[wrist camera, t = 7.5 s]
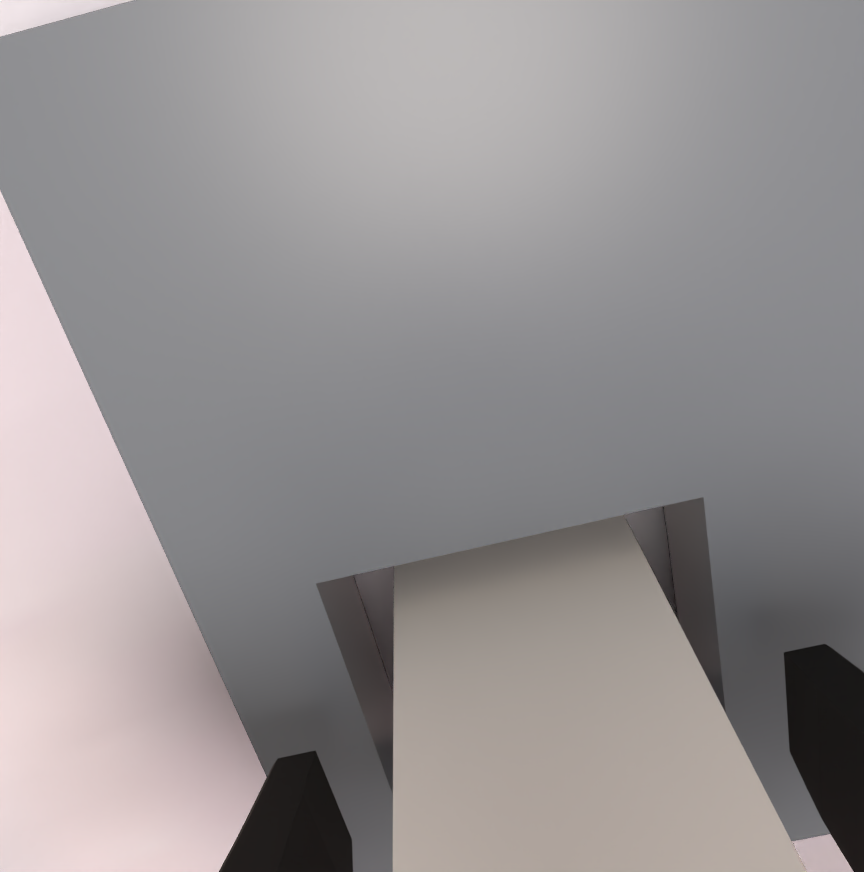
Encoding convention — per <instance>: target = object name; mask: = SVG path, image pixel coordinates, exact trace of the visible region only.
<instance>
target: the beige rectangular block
mask: <svg viewBox="0 0 864 872" xmlns="http://www.w3.org/2000/svg"><path fill="white" fill-rule="evenodd" d="M393 872H807V871H806V869H805V867H804V865H803V863H802V861H801V859H800V857H799V855H798V853H797V851H796V849H795V847H794V845H793V843H792V842H791V840H790V838H789V836H788V834H787V832H786V830H785V828H784V826H783V824H782V822H781V820H780V818H779V816H778V814H777V812H776V810H775V808H774V806H773V805H772V803H771V801H770V799H769V797H768V795H767V793H766V791H765V789H764V787H763V785H762V783H761V781H760V779H759V777H758V775H757V773H756V771H755V770H754V768H753V766H752V764H751V762H750V760H749V758H748V756H747V754H746V752H745V750H744V748H743V746H742V744H741V742H740V740H739V738H738V736H737V735H736V733H735V731H734V729H733V727H732V725H731V723H730V721H729V719H728V717H727V715H726V713H725V711H724V709H723V707H722V705H721V703H720V701H719V700H718V698H717V696H716V694H715V692H714V690H713V688H712V686H711V684H710V682H709V680H708V678H707V676H706V674H705V672H704V670H703V668H702V666H701V665H700V663H699V661H698V659H697V657H696V655H695V653H694V651H693V649H692V647H691V645H690V643H689V641H688V639H687V637H686V635H685V633H684V631H683V630H682V628H681V626H680V624H679V622H678V620H677V618H676V616H675V614H674V612H673V610H672V608H671V606H670V604H669V602H668V600H667V598H666V596H665V594H664V593H663V591H662V589H661V587H660V585H659V583H658V581H657V579H656V577H655V575H654V573H653V571H652V569H651V567H650V565H649V563H648V561H647V559H646V558H645V556H644V554H643V552H642V550H641V548H640V546H639V544H638V542H637V540H636V538H635V536H634V534H633V532H632V530H631V528H630V526H629V524H628V523H627V521H626V519H625V517H624V515H621V516H616V517H612V518H607V519H603V520H598V521H594V522H589V523H585V524H580V525H576V526H571V527H567V528H562V529H558V530H554V531H549V532H545V533H540V534H536V535H531V536H527V537H522V538H518V539H513V540H509V541H504V542H500V543H495V544H491V545H486V546H482V547H477V548H473V549H469V550H464V551H460V552H455V553H451V554H446V555H442V556H437V557H433V558H428V559H424V560H419V561H415V562H410V563H406V564H401V565H397V566H394V693H393Z"/></svg>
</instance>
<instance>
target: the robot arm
mask: <svg viewBox="0 0 864 872" xmlns="http://www.w3.org/2000/svg"><path fill="white" fill-rule="evenodd" d="M784 666H785V683H786V699H787V716H788V733H789V750H790V753H791V756H792V758H793V760H794V762H795V764H796V766H797V768H798V771H799V773H800V775H801V777H802V779H803V781H804V784H805V786H806V788H807V790H808V792H809V794H810V796H811V798H812V800H813V802H814V804H815V806H816V808H817V810H818V812H819V814H820V816H821V818H822V820H823V822H824V824H825V825H826V827H827V829H828V830H829V832H830V834H831V835H832V837H833V839H834V840H835V842H836V843H837V845H838V847H839V848H840V850H841V852H842V853H843V855H844V856H845V858H846V860H847V861H848V863H849V865H850V866H851V868H852V870H853V871H854V872H864V672H863V671H862V670H860V669H859V668H858V667H856V666H855V665H854V664H852V663H851V662H850V661H849V660H847V659H846V658H845V657H843V656H842V655H841V654H839V653H838V652H837V651H835V650H834V649H833V648H831V647H830V646H828V645H826V644H821V645H816V646H811V647H807V648H802V649H797V650H792V651H788V652H784ZM219 872H353V855H352V838H351V836H350V833H349V831H348V829H347V826H346V824H345V821H344V819H343V816H342V814H341V811H340V809H339V807H338V804H337V802H336V799H335V797H334V794H333V792H332V789H331V787H330V785H329V782H328V780H327V777H326V775H325V772H324V770H323V767H322V765H321V763H320V760H319V758H318V755H317V753H316V750H315V751H310V752H306V753H301V754H296V755H291V756H287V757H282V758H278V759H277V760H276V762H275V763H274V764H273V766H272V768H271V770H270V772H269V774H268V776H267V778H266V780H265V782H264V784H263V787H262V789H261V791H260V793H259V795H258V797H257V799H256V801H255V803H254V805H253V807H252V809H251V811H250V813H249V815H248V817H247V819H246V821H245V823H244V825H243V827H242V829H241V831H240V833H239V835H238V837H237V839H236V841H235V843H234V844H233V846H232V848H231V850H230V852H229V854H228V856H227V858H226V859H225V861H224V863H223V865H222V867H221V869H220V871H219Z"/></svg>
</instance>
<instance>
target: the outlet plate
mask: <svg viewBox="0 0 864 872" xmlns="http://www.w3.org/2000/svg"><path fill="white" fill-rule="evenodd" d="M0 190H1V193H2V195H3V197H4V199H5V201H6V204H7V206H8V208H9V210H10V212H11V215H12V217H13V219H14V221H15V223H16V226H17V228H18V230H19V232H20V234H21V237H22V239H23V241H24V243H25V245H26V248H27V250H28V252H29V254H30V257H31V259H32V261H33V263H34V265H35V268H36V270H37V272H38V274H39V276H40V279H41V281H42V283H43V285H44V287H45V290H46V292H47V294H48V296H49V298H50V301H51V303H52V305H53V307H54V309H55V312H56V314H57V316H58V318H59V320H60V323H61V325H62V327H63V329H64V331H65V334H66V336H67V338H68V340H69V342H70V345H71V347H72V349H73V351H74V353H75V356H76V358H77V360H78V362H79V364H80V367H81V369H82V371H83V373H84V375H85V378H86V380H87V382H88V384H89V386H90V389H91V391H92V393H93V395H94V397H95V400H96V402H97V404H98V406H99V408H100V411H101V413H102V415H103V417H104V419H105V422H106V424H107V426H108V428H109V430H110V433H111V435H112V437H113V439H114V441H115V444H116V446H117V448H118V450H119V452H120V455H121V457H122V459H123V461H124V463H125V466H126V468H127V470H128V472H129V474H130V477H131V479H132V481H133V483H134V485H135V488H136V490H137V492H138V494H139V496H140V499H141V501H142V503H143V505H144V507H145V510H146V512H147V514H148V516H149V518H150V521H151V523H152V525H153V527H154V530H155V532H156V534H157V536H158V538H159V541H160V543H161V545H162V547H163V549H164V552H165V554H166V556H167V558H168V560H169V563H170V565H171V567H172V569H173V571H174V574H175V576H176V578H177V580H178V582H179V585H180V587H181V589H182V591H183V593H184V596H185V598H186V600H187V602H188V604H189V607H190V609H191V611H192V613H193V615H194V618H195V620H196V622H197V624H198V626H199V629H200V631H201V633H202V635H203V637H204V640H205V642H206V644H207V646H208V648H209V651H210V653H211V655H212V657H213V659H214V662H215V664H216V666H217V668H218V670H219V673H220V675H221V677H222V679H223V681H224V684H225V686H226V688H227V690H228V692H229V695H230V697H231V699H232V701H233V703H234V706H235V708H236V710H237V712H238V714H239V717H240V719H241V721H242V723H243V725H244V728H245V730H246V732H247V734H248V736H249V739H250V741H251V743H252V745H253V747H254V750H255V752H256V754H257V756H258V758H259V761H260V763H261V765H262V767H263V769H264V772H265V774H266V776H268V774H269V772H270V770H271V768H272V766H273V764H274V763H275V762H276V760H277V759H278V758H282V757H287V756H291V755H296V754H301V753H306V752H310V751H315V750H316V753H317V755H318V758H319V760H320V763H321V765H322V767H323V770H324V772H325V775H326V777H327V780H328V782H329V785H330V787H331V789H332V792H333V794H334V797H335V799H336V802H337V804H338V807H339V809H340V811H341V814H342V816H343V819H344V821H345V824H346V826H347V829H348V831H349V833H350V836H351V838H352V855H353V872H393V692H392V689H391V686H390V684H389V681H388V678H387V675H386V672H385V669H384V666H383V663H382V660H381V657H380V654H379V651H378V648H377V645H376V642H375V639H374V636H373V633H372V630H371V627H370V624H369V621H368V618H367V615H366V613H365V610H364V607H363V604H362V601H361V598H360V595H359V592H358V589H357V586H356V583H355V580H354V577H353V575H357V574H361V573H366V572H370V571H375V570H379V569H383V568H388V567H392V566H397V565H401V564H406V563H410V562H415V561H419V560H424V559H428V558H433V557H437V556H442V555H446V554H451V553H455V552H460V551H464V550H469V549H473V548H477V547H482V546H486V545H491V544H495V543H500V542H504V541H509V540H513V539H518V538H522V537H527V536H531V535H536V534H540V533H545V532H549V531H554V530H558V529H562V528H567V527H571V526H576V525H580V524H585V523H589V522H594V521H598V520H603V519H607V518H612V517H616V516H621V515H625V514H630V513H634V512H639V511H643V510H648V509H652V508H656V507H661V506H664V513H665V521H666V528H667V536H668V544H669V552H670V559H671V567H672V575H673V583H674V591H675V598H676V606H677V614H678V622H679V624H680V626H681V628H682V630H683V631H684V633H685V635H686V637H687V639H688V641H689V643H690V645H691V647H692V649H693V651H694V653H695V655H696V657H697V659H698V661H699V663H700V665H701V666H702V668H703V670H704V672H705V674H706V676H707V678H708V680H709V682H710V684H711V686H712V688H713V690H714V692H715V694H716V696H717V698H718V700H719V701H720V703H721V705H722V707H723V709H724V711H725V713H726V715H727V717H728V719H729V721H730V723H731V725H732V727H733V729H734V731H735V733H736V735H737V736H738V738H739V740H740V742H741V744H742V746H743V748H744V750H745V752H746V754H747V756H748V758H749V760H750V762H751V764H752V766H753V768H754V770H755V771H756V773H757V775H758V777H759V779H760V781H761V783H762V785H763V787H764V789H765V791H766V793H767V795H768V797H769V799H770V801H771V803H772V805H773V806H774V808H775V810H776V812H777V814H778V816H779V818H780V820H781V822H782V824H783V826H784V828H785V830H786V832H787V834H788V836H789V838H790V840H791V841H796V840H801V839H806V838H811V837H816V836H821V835H826V834H830V832H829V830H828V829H827V827H826V825H825V824H824V822H823V820H822V818H821V816H820V814H819V812H818V810H817V808H816V806H815V804H814V802H813V800H812V798H811V796H810V794H809V792H808V790H807V788H806V786H805V784H804V781H803V779H802V777H801V775H800V773H799V771H798V768H797V766H796V764H795V762H794V760H793V758H792V756H791V753H790V750H789V733H788V716H787V699H786V683H785V666H784V652H788V651H792V650H797V649H802V648H807V647H811V646H816V645H821V644H826V645H828V646H830V647H831V648H833V649H834V650H835V651H837V652H838V653H839V654H841V655H842V656H843V657H845V658H846V659H847V660H849V661H850V662H851V663H852V664H854V665H855V666H856V667H858V668H859V669H860V670H862V671H863V672H864V0H133V1H130V2H126V3H122V4H119V5H115V6H111V7H108V8H104V9H100V10H97V11H93V12H89V13H86V14H82V15H78V16H75V17H71V18H67V19H64V20H60V21H56V22H53V23H49V24H46V25H42V26H38V27H35V28H31V29H27V30H24V31H20V32H16V33H13V34H9V35H5V36H2V37H0Z"/></svg>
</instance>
